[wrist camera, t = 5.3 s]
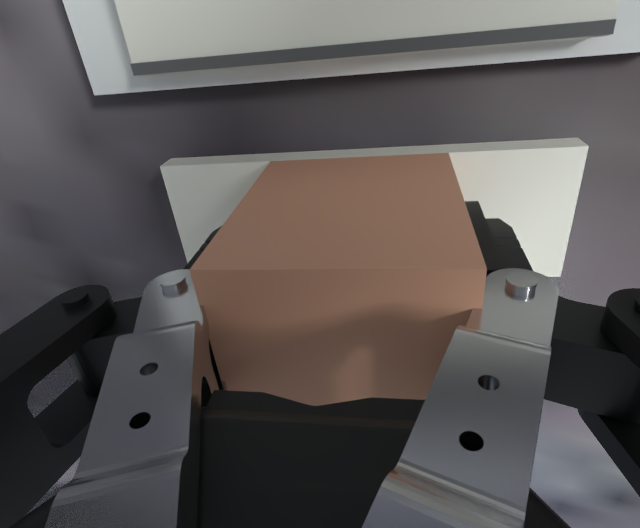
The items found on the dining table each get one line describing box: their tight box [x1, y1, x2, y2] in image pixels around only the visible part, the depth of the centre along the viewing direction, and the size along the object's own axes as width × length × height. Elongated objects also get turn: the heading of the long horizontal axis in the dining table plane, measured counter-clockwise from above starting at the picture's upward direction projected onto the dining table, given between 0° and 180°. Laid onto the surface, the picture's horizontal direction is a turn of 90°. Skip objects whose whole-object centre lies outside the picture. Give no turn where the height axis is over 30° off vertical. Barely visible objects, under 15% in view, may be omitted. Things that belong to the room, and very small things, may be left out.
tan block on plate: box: [160, 138, 589, 406], centre depth 11 cm, size 12×4×7 cm, turn 95°
